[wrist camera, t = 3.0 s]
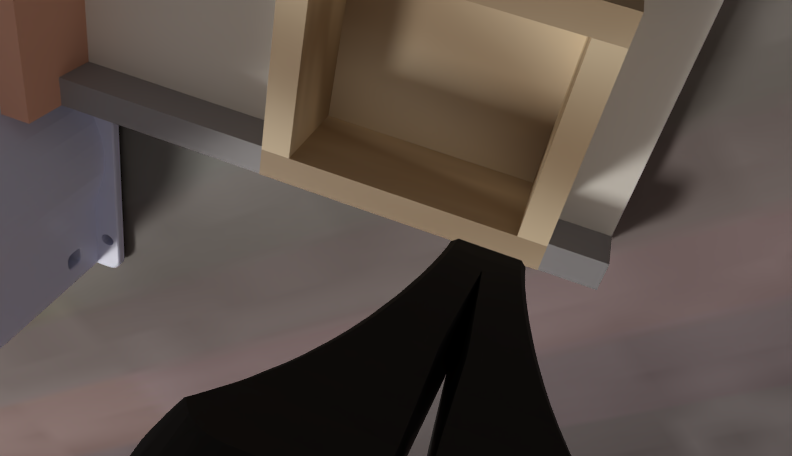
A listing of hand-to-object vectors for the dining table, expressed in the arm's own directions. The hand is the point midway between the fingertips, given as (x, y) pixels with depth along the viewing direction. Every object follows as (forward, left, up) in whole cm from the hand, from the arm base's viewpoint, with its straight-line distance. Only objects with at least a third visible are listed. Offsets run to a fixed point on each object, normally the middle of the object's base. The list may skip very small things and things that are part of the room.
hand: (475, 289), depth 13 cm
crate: (+1, +3, -9) cm, 9 cm away
